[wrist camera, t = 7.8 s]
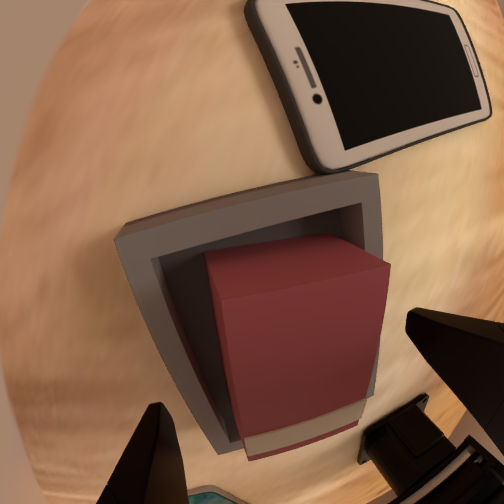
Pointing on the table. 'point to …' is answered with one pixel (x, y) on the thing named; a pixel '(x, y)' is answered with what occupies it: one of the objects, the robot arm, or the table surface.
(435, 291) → the table surface
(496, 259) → the table surface
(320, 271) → the card box
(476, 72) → the cell phone
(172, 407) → the table surface
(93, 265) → the table surface
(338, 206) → the pocket tray
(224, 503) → the smartphone
